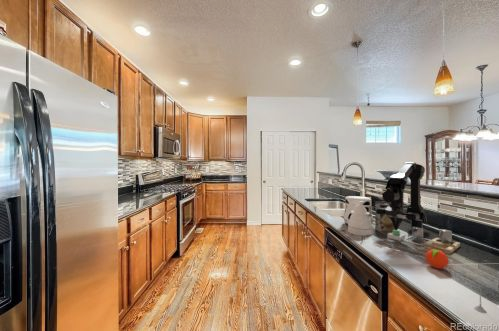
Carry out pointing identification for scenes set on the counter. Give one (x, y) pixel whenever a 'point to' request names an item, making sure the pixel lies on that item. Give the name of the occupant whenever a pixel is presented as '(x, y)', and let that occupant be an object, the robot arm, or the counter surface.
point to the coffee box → (383, 220)
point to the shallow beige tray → (441, 246)
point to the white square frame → (400, 237)
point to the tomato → (437, 258)
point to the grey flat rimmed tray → (413, 242)
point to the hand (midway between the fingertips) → (396, 229)
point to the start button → (396, 232)
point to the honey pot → (360, 221)
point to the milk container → (353, 202)
